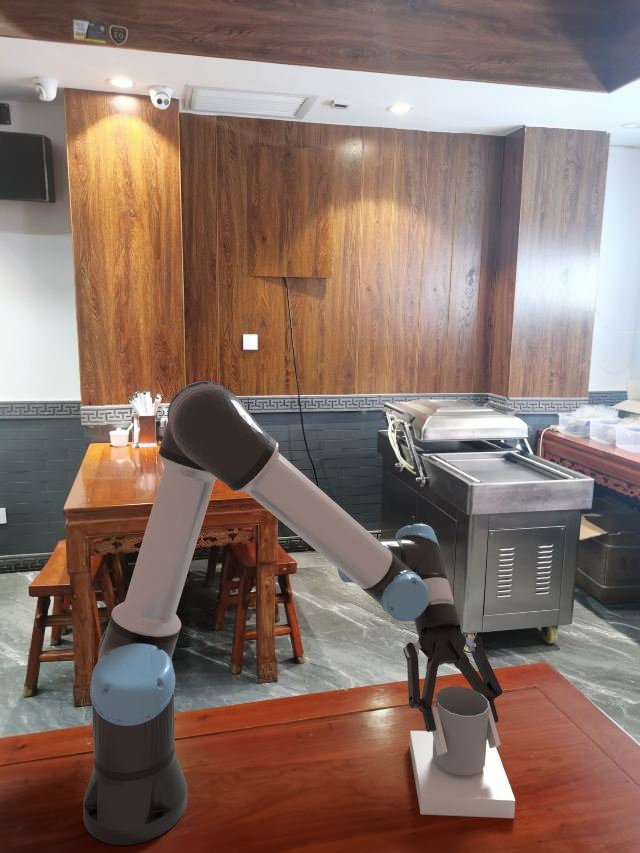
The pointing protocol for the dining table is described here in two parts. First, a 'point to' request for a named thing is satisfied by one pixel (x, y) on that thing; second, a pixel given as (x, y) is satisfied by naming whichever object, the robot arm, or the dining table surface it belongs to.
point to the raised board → (459, 784)
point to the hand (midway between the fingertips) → (469, 750)
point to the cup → (462, 730)
